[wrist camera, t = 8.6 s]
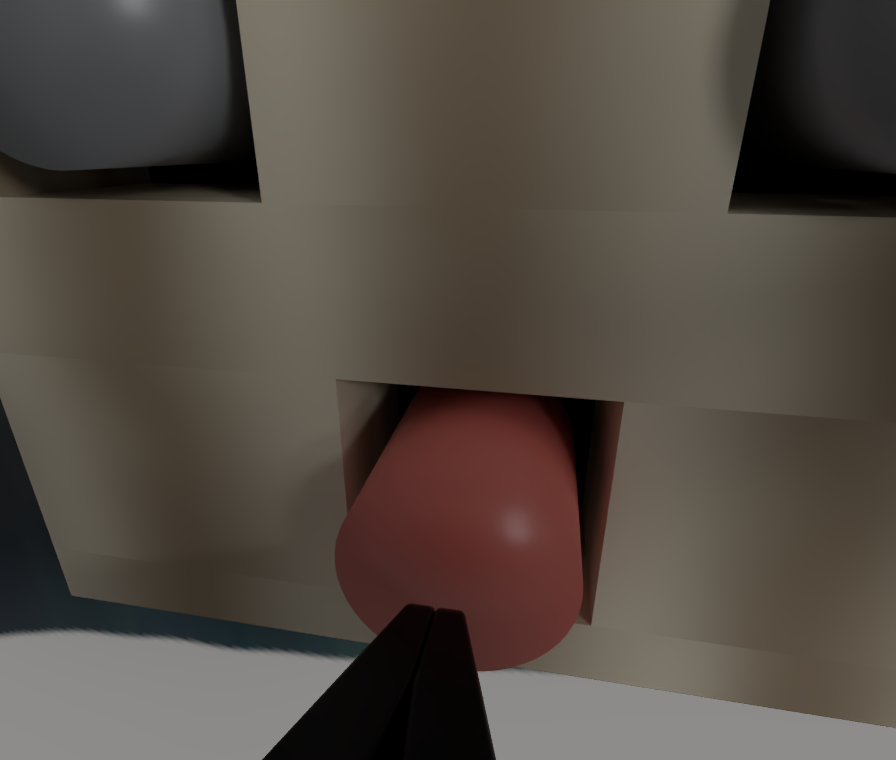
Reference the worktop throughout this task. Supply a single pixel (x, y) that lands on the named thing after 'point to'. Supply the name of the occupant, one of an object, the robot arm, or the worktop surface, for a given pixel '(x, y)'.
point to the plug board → (479, 338)
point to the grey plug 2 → (827, 84)
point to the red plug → (471, 522)
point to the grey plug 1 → (122, 83)
